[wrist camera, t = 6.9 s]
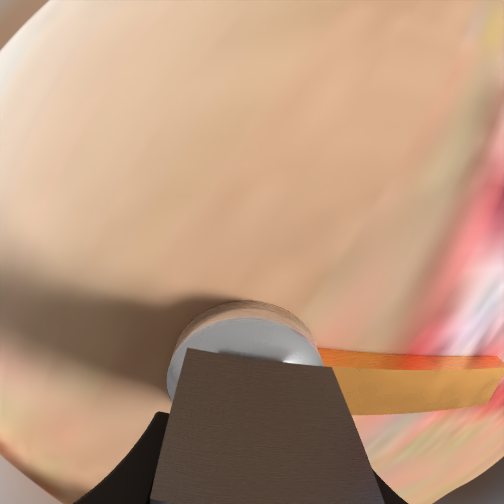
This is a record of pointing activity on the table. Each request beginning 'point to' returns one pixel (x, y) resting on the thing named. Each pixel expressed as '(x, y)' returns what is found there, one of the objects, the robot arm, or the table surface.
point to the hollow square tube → (260, 436)
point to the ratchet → (340, 362)
